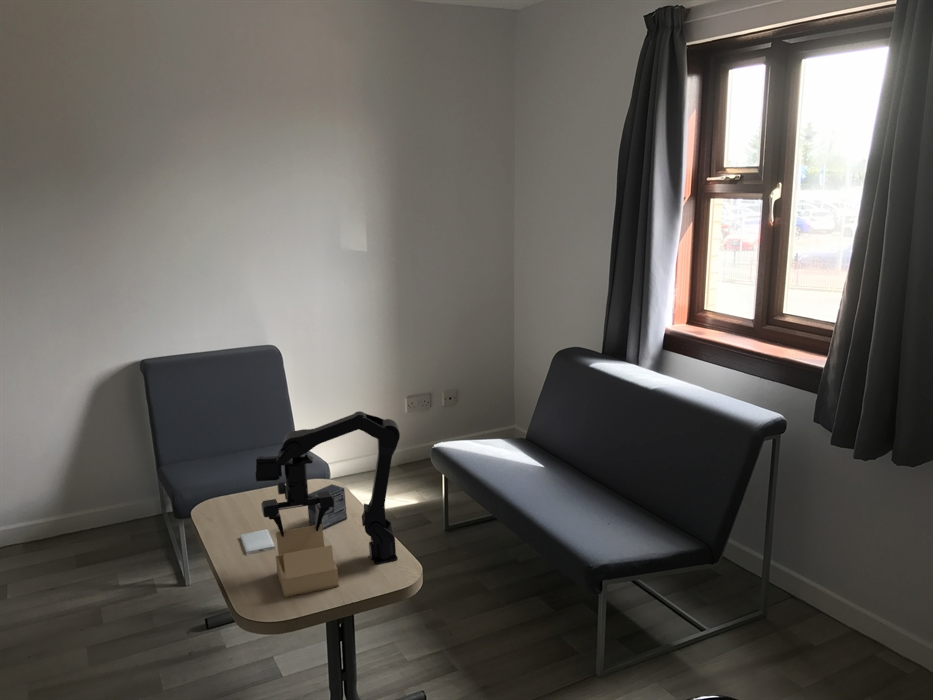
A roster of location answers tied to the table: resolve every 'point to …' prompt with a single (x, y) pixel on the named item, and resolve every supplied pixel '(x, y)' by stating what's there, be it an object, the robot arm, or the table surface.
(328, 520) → the small box
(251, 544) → the hard drive
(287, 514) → the table surface
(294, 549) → the flap
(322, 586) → the carton
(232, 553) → the table surface
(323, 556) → the flap
